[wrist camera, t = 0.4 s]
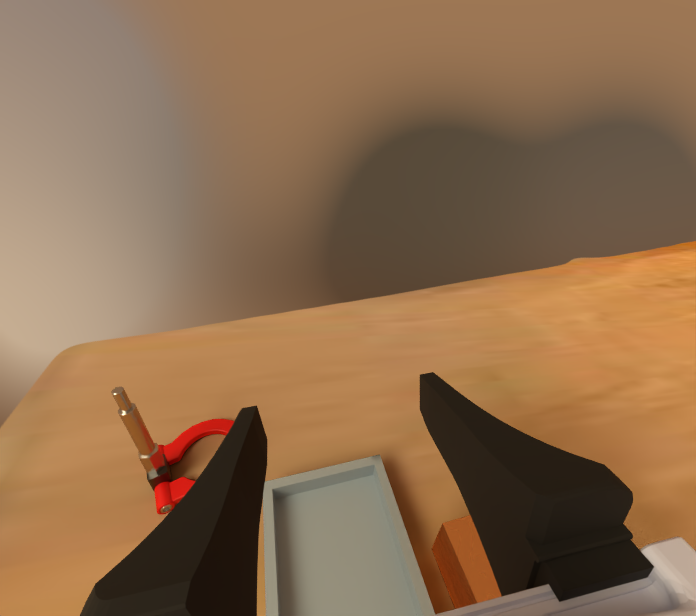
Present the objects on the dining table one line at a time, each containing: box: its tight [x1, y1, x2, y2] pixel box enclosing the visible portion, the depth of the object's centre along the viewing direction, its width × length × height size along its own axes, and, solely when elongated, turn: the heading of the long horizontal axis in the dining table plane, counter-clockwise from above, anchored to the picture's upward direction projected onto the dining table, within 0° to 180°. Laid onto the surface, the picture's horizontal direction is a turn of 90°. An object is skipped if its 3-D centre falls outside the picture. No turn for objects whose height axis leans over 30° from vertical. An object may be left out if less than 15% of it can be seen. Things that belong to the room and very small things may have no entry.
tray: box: [263, 455, 435, 616], centre depth 22 cm, size 20×11×2 cm, turn 14°
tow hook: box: [112, 387, 234, 514], centre depth 29 cm, size 8×13×9 cm
